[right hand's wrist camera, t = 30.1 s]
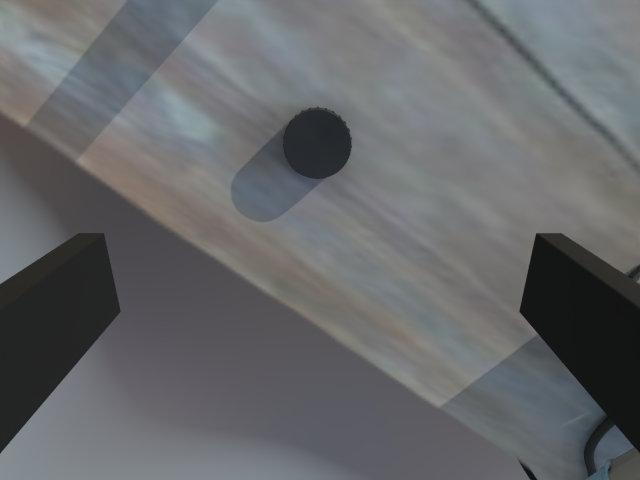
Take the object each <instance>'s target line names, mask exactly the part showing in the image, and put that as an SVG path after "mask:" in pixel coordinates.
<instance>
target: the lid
mask: <svg viewBox="0 0 640 480" xmlns="http://www.w3.org/2000/svg"><path fill="white" fill-rule="evenodd" d="M349 132H350V130H349V128H347V126H346V123H345V121H343V120H342V119H341V117H340V115H339V116H338V115H337V114H336V113H334V111H330V110H327V108H325V109H324V108H319V107H317V108H312V109H311V108H309V109H308V110H305V111H302V112H301V113H300V114H298V115H296V116H295V118H294V119H293V120H292V121H290V125H289V126H288V127H287V128H286V132H285V136H284V137H283V138H284V144H283V146H284V152H285V156H286V158H287V160H288V162H289V164H290V165H291V166H292V167H293V168H294V169H295V170H296V171H297V172H298V173H300V174H302V175H304V176H306V177H309V178H316V179H319V178H326V177H329V176H331V175H334V174H335V173H337V172H338V171H339V170H341V169H342V167H343V166H344V165H345V164H346V162H347V160H348V158H349V156H350V152H351V147H352V146H351V139H352V138H351V136H350V133H349Z"/></svg>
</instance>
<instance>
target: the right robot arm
mask: <svg viewBox="0 0 640 480" xmlns="http://www.w3.org/2000/svg"><path fill="white" fill-rule="evenodd" d="M519 312H520V313H521V314H522V315H523V316H524V318H525V319H526V320H527V321H528V322H529V323H530V325H531V326H532V327H533V328H534V329H535V331H536V332H537V333H538V334H539V335H540V336H541V338H542V339H543V340H544V341H545V342H546V343H547V345H548V346H549V347H550V348H551V349H552V351H553V352H554V353H555V354H556V355H557V356H558V358H559V359H560V360H561V361H562V362H563V364H564V365H565V366H566V367H567V368H568V369H569V371H570V372H571V373H572V374H573V375H574V376H575V378H576V379H577V380H578V381H579V382H580V384H581V385H582V386H583V387H584V388H585V389H586V391H587V392H588V393H589V394H590V395H591V396H592V398H593V399H594V400H595V401H596V402H597V404H598V405H599V406H600V407H601V408H602V409H603V411H604V412H605V413H606V414H607V415H608V418H607V419H606V420H605V421H604V422H602V423H601V424H600V425H599V426H598V428H597V429H596V430H595V431H594V432H593V434H592V435H591V437H590V438H589V440H588V442H587V444H586V447H585V451H584V459H585V463H586V467H587V471H588V478H587V479H585V480H640V267H639V268H638V269H637V270H636V271H634V272H633V273H632V274H631V275H630V276H629V277H628V276H626V275H625V274H623V273H622V272H620V271H619V270H617V269H615V268H614V267H612V266H611V265H609V264H608V263H606V262H605V261H603V260H602V259H600V258H599V257H597V256H595V255H594V254H592V253H591V252H589V251H588V250H586V249H585V248H583V247H582V246H580V245H579V244H577V243H575V242H574V241H572V240H571V239H569V238H568V237H566V236H565V235H563V234H562V233H536V237H535V241H534V246H533V251H532V255H531V260H530V265H529V269H528V274H527V279H526V283H525V288H524V293H523V297H522V302H521V307H520V311H519ZM119 313H120V307H119V302H118V297H117V293H116V288H115V283H114V279H113V274H112V269H111V265H110V260H109V255H108V251H107V246H106V242H105V237H104V234H103V233H79V234H77V235H75V236H74V237H72V238H71V239H69V240H68V241H66V242H65V243H63V244H61V245H60V246H58V247H57V248H55V249H54V250H52V251H51V252H49V253H48V254H46V255H45V256H43V257H41V258H40V259H38V260H37V261H35V262H34V263H32V264H31V265H29V266H28V267H26V268H25V269H23V270H22V271H20V272H18V273H17V274H15V275H14V276H12V277H11V278H9V279H8V280H6V281H5V282H3V283H1V284H0V453H1V452H2V451H3V449H4V448H5V447H6V446H7V445H8V444H9V442H10V441H11V440H12V439H13V438H14V437H15V435H16V434H17V433H18V432H19V431H20V429H21V428H22V427H23V426H24V425H25V424H26V422H27V421H28V420H29V419H30V418H31V416H32V415H33V414H34V413H35V412H36V411H37V409H38V408H39V407H40V406H41V405H42V404H43V402H44V401H45V400H46V399H47V398H48V396H49V395H50V394H51V393H52V392H53V391H54V389H55V388H56V387H57V386H58V385H59V384H60V382H61V381H62V380H63V379H64V378H65V376H66V375H67V374H68V373H69V372H70V371H71V369H72V368H73V367H74V366H75V365H76V364H77V362H78V361H79V360H80V359H81V358H82V356H83V355H84V354H85V353H86V352H87V350H88V349H89V348H90V347H91V346H92V345H93V343H94V342H95V341H96V340H97V339H98V338H99V336H100V335H101V334H102V333H103V332H104V330H105V329H106V328H107V327H108V326H109V325H110V323H111V322H112V321H113V320H114V319H115V318H116V316H117V315H118V314H119ZM614 425H616V426H617V427H618V428H619V429H620V431H621V432H622V433H623V434H624V435H625V437H626V438H627V439H628V440H629V441H630V442H631V444H632V445H633V446H634V447H635V448H633V449H631V450H630V451H628V452H626V453H625V454H623V455H621V456H619V457H618V458H616V459H610V460H608V461H607V462H606V463H605V465H604V467H602V468H601V469H600V470H598V471H597V472H596V468H595V465H594V459H593V455H594V451H595V448H596V446H597V444H598V442H599V441H600V439H601V438H602V437H603V436H604V435H605V433H606V432H607V431H608V430H610V429H611V428H612V427H613V426H614ZM518 461H519V460H518ZM519 463H520V464H521V466H522V468H523V469H524V471H525V472H526V474H527V476H528V477H529V479H530V480H537V478H536V477H535V475H534V474H533V472H532V471H531V469H530V468H529V467H528V466H526V465H525V464H524V463H522V462H521V461H519Z"/></svg>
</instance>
